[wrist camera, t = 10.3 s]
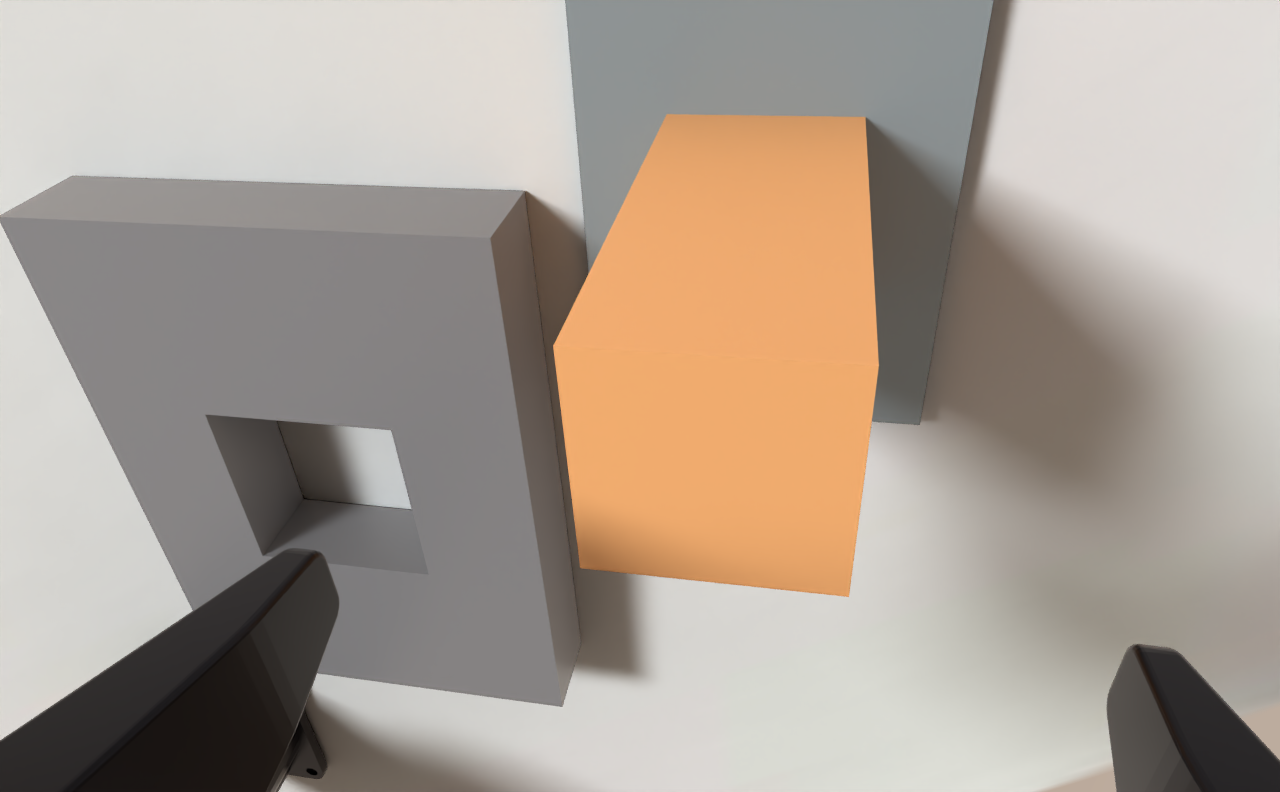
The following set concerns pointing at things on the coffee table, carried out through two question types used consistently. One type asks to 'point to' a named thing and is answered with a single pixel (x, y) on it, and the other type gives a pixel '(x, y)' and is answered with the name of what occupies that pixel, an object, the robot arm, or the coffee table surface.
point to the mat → (800, 86)
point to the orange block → (728, 358)
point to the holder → (329, 403)
